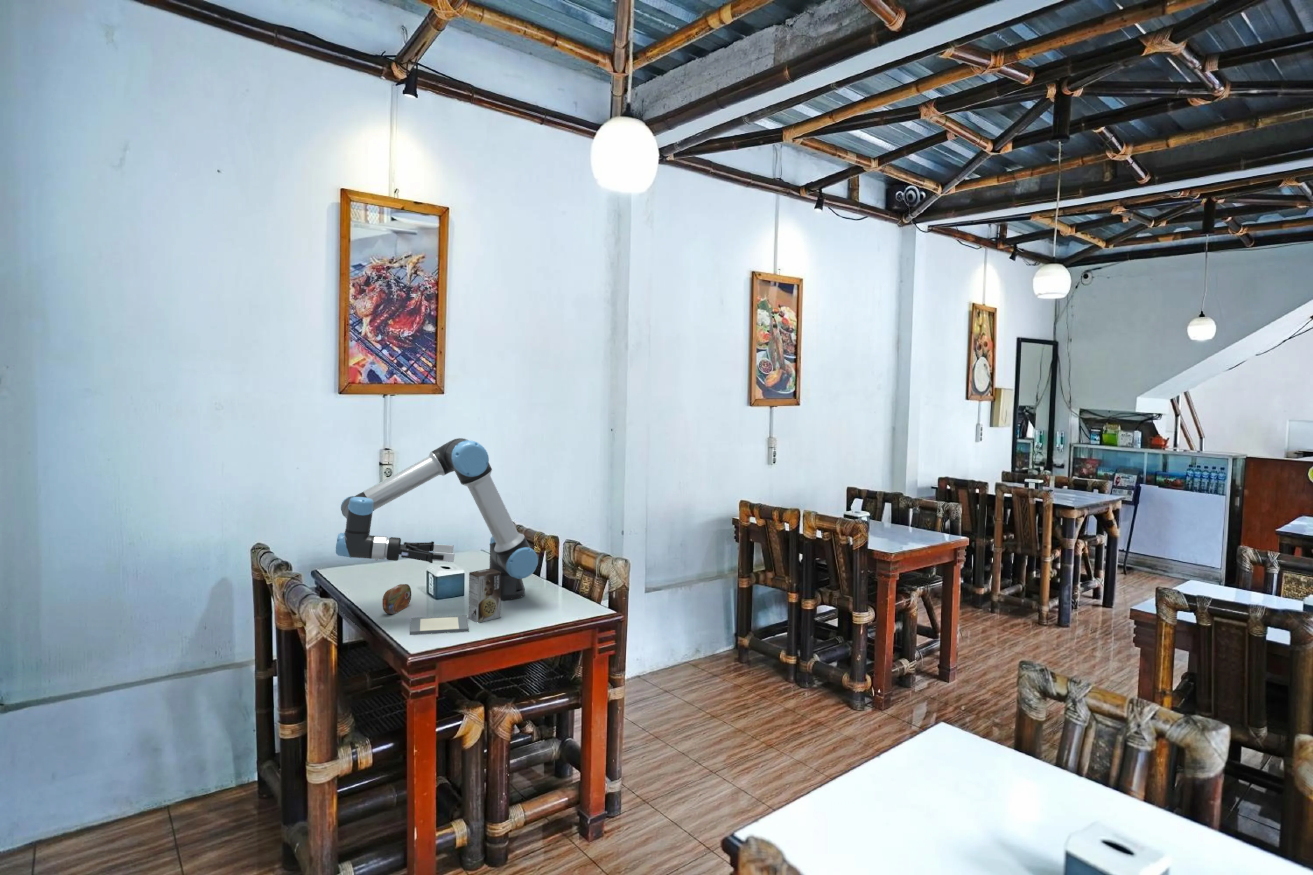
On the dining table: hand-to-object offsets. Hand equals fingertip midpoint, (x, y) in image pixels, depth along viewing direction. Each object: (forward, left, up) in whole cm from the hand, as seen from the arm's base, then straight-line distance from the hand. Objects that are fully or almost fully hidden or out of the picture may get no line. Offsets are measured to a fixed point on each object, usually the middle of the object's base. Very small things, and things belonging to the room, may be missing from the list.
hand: (453, 553), depth 251 cm
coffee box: (-11, +1, -23) cm, 25 cm away
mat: (+4, +7, -22) cm, 24 cm away
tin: (+18, -13, -23) cm, 32 cm away
